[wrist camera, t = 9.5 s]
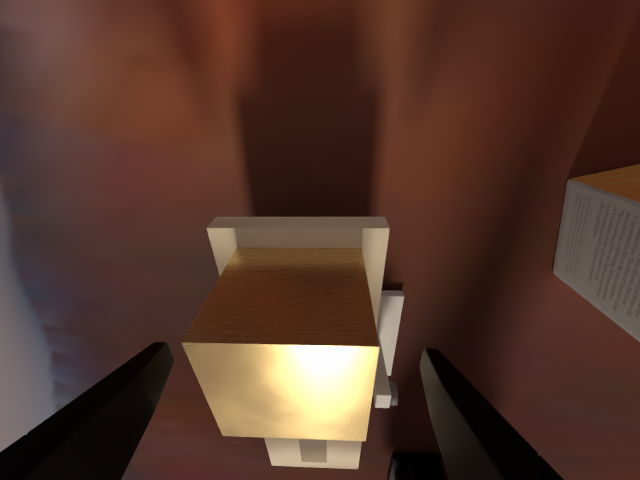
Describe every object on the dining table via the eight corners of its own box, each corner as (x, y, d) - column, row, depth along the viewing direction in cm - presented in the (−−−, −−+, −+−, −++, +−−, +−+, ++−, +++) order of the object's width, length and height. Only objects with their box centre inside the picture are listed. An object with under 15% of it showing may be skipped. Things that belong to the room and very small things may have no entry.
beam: (357, 454, 22) (358, 469, 21) (274, 450, 22) (271, 465, 21) (385, 216, 11) (389, 228, 10) (216, 216, 11) (206, 228, 10)
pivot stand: (389, 368, 21) (404, 441, 17) (242, 365, 22) (219, 434, 17) (401, 290, 17) (426, 356, 13) (224, 288, 18) (188, 351, 13)
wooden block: (355, 333, 13) (365, 441, 9) (254, 331, 13) (222, 435, 9) (361, 248, 10) (379, 347, 6) (236, 247, 11) (181, 342, 7)
